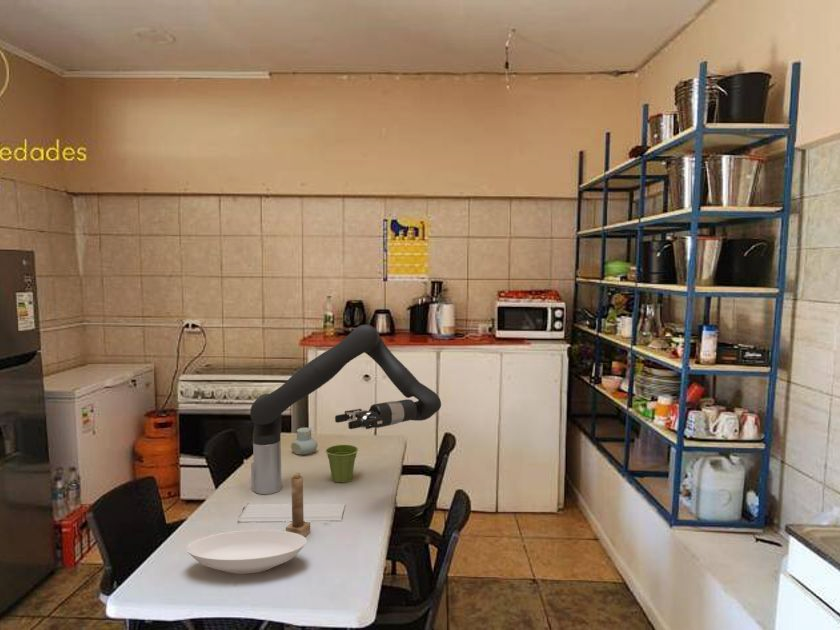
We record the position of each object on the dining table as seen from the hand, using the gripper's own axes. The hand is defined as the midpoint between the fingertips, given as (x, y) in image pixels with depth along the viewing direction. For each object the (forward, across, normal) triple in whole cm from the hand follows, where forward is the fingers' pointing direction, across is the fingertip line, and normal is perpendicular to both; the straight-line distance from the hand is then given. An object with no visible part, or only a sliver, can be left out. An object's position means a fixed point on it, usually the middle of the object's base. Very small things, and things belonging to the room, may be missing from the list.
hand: (342, 422), depth 162 cm
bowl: (+33, +10, +30) cm, 46 cm away
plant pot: (-14, -27, +30) cm, 43 cm away
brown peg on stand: (+16, +2, +30) cm, 34 cm away
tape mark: (+18, -2, +30) cm, 35 cm away
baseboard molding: (+12, -11, +31) cm, 35 cm away
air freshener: (-15, -62, +30) cm, 71 cm away
